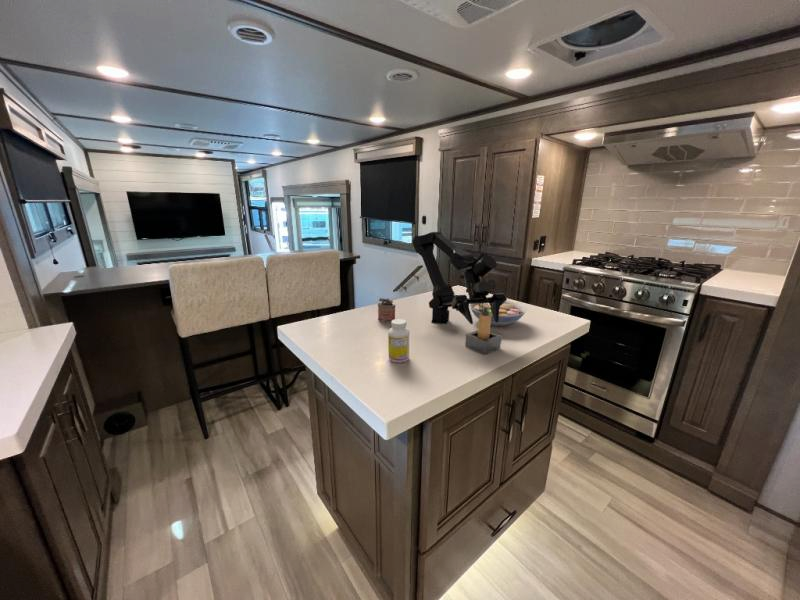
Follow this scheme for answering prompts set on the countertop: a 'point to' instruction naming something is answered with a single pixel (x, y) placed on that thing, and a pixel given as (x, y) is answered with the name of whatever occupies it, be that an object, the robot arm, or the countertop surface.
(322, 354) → the countertop surface
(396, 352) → the supplement bottle
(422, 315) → the countertop surface
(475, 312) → the ramen bowl
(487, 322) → the plug
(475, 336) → the grey square open block
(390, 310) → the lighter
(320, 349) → the countertop surface
